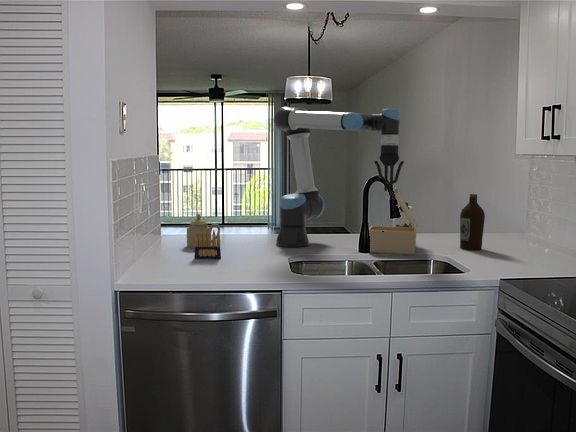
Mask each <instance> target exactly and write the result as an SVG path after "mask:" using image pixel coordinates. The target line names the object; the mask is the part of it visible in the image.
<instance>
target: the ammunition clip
mask: <svg viewBox="0 0 576 432" xmlns="http://www.w3.org/2000/svg"><path fill="white" fill-rule="evenodd" d="M220 234H221V232H220V233H219V230H218V229H217V231H215V229H212V232H210V230H209V232H208V246H207V233H206V230H205V231H204V240H203V236H202V230H200V237H199V239H198V231H197V230H196V233H195V248H194V255H193V256H194V259H195V260H221V259H222V253H221V250H222V249H221V235H220ZM216 235H217V239H216Z"/></svg>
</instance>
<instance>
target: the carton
mask: <svg viewBox="0 0 576 432" xmlns="http://www.w3.org/2000/svg"><path fill="white" fill-rule="evenodd" d="M368 229H369V236H370V241H371V242H370V252H376V254H385V255H386V254H387V255H402V256H403V255H406V256H414V255H415V253H416V250H417V248H416V247H417V246H416V245H417V230H416V231H415V230H414V229H413V227H412V228H410V227H393V226H386V225H385V226H384V225H371V226H370V227H369V228H368ZM382 231H384V232H382Z"/></svg>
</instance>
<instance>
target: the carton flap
mask: <svg viewBox="0 0 576 432" xmlns="http://www.w3.org/2000/svg"><path fill="white" fill-rule="evenodd" d="M393 191H394V194H395V196H394V197H395V199H396V200H397V202H398V205H400V206H401V208H402V210H403V211H404V213H405V215H406V216H407V218H408V220H409V222H410V223H411V225H412V228H413V229H414V230H415V231H416V232H417V230H418V227H419V225H418V223H417V221H416V219H415V218H414V216H413V214H411V212H410V211H409V209H408V207H407V206H406V204H405V200H404V199H403V197H402V196H401V195H402V194H401V193H400V192H399V190H398V188H397V187H393ZM394 194H393V195H394Z"/></svg>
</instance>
